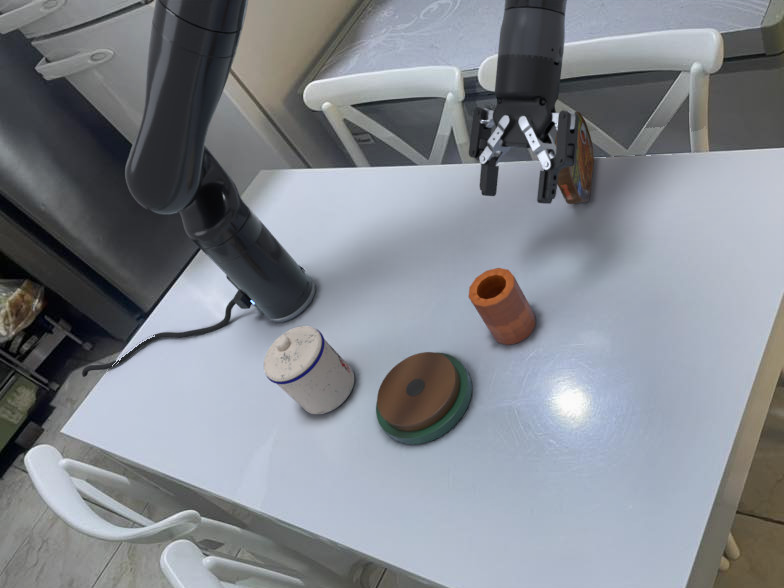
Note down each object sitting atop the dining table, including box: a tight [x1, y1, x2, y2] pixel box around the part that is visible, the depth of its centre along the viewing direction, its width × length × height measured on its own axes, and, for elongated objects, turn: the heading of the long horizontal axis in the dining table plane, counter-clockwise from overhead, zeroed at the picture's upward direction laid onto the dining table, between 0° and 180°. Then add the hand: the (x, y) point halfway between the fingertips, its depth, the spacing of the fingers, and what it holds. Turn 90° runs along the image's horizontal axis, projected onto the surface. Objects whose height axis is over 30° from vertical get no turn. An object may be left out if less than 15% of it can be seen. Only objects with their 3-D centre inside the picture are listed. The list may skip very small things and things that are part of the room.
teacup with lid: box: [263, 325, 355, 415], centre depth 95 cm, size 12×9×12 cm
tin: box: [554, 111, 595, 205], centre depth 101 cm, size 15×3×8 cm, turn 168°
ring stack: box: [375, 351, 473, 445], centre depth 89 cm, size 13×13×3 cm
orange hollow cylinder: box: [468, 267, 537, 346], centre depth 89 cm, size 6×6×8 cm
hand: (515, 199), depth 86 cm, fingers open, 8 cm apart
